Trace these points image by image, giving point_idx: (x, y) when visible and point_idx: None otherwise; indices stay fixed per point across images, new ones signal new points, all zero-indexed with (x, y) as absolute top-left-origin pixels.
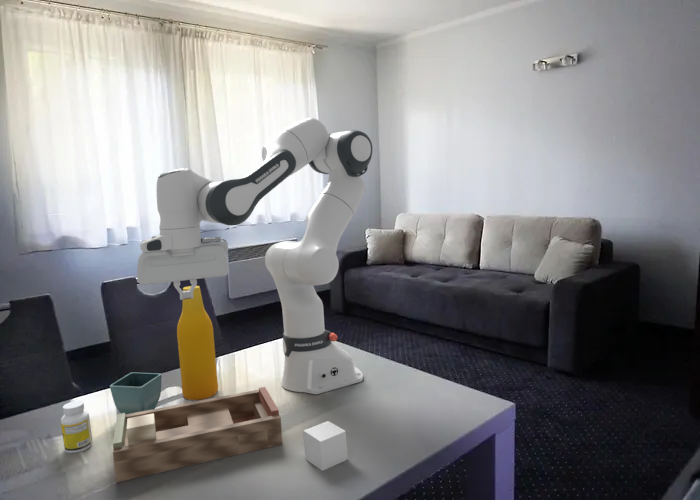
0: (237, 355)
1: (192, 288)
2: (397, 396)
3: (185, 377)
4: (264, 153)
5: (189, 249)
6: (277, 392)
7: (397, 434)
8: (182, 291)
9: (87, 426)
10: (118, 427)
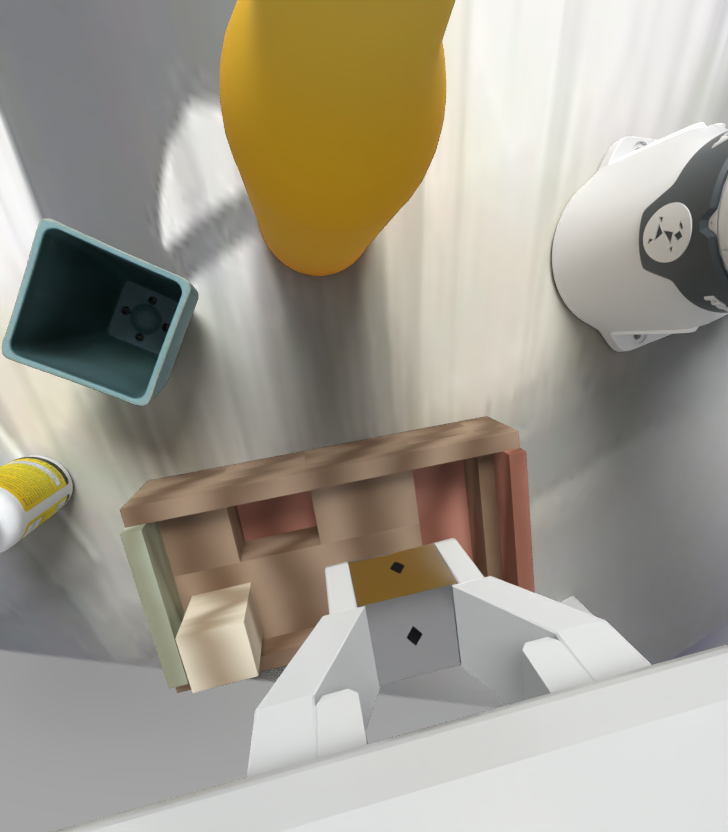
0: None
1: (509, 693)
2: None
3: (276, 247)
4: None
5: None
6: (531, 297)
7: (689, 574)
8: (369, 623)
9: (39, 517)
10: (153, 614)
